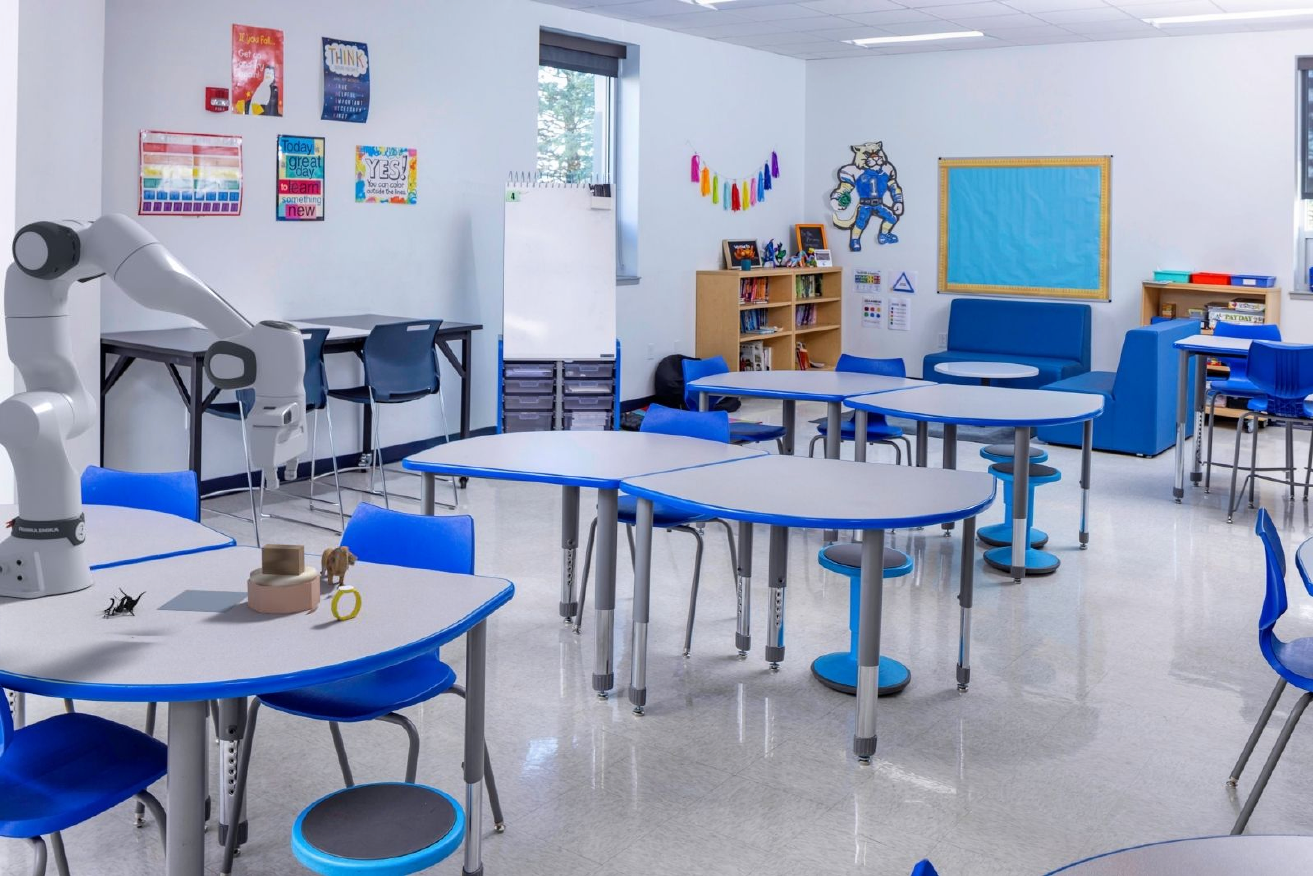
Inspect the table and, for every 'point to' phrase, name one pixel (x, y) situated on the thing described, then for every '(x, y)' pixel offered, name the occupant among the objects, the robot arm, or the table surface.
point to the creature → (129, 604)
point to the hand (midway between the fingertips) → (282, 484)
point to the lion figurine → (336, 563)
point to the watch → (337, 596)
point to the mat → (205, 601)
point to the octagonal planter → (284, 597)
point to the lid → (283, 567)
